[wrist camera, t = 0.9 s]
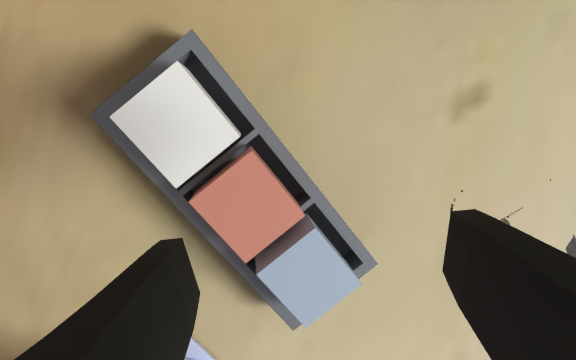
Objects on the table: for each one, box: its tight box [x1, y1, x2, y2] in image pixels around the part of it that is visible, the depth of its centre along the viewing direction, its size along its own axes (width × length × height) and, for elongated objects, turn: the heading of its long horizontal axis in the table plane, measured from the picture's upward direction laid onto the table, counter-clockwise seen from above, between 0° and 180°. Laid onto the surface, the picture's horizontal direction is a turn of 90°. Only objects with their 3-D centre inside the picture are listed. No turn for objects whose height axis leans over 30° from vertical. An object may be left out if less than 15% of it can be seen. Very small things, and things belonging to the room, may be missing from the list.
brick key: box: [189, 146, 305, 263], centre depth 20 cm, size 5×5×3 cm
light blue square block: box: [255, 213, 361, 328], centre depth 21 cm, size 5×5×3 cm
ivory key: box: [110, 61, 241, 188], centre depth 18 cm, size 5×5×3 cm
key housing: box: [89, 30, 378, 330], centre depth 23 cm, size 8×20×3 cm, turn 38°
